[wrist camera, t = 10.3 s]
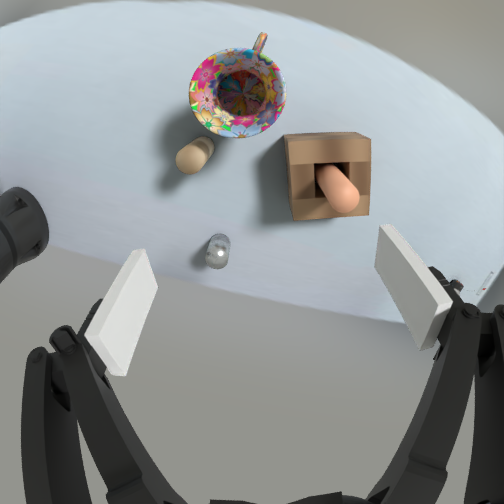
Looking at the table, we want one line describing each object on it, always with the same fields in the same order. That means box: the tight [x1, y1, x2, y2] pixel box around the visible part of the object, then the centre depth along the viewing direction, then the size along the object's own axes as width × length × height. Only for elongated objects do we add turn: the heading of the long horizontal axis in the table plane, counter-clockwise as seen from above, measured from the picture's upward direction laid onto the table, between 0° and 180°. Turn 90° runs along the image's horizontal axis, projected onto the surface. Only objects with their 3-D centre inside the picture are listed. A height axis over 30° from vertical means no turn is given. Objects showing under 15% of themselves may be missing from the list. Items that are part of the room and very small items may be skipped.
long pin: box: [314, 163, 360, 213], centre depth 33 cm, size 3×3×12 cm
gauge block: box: [284, 132, 371, 221], centre depth 35 cm, size 10×10×6 cm
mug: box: [189, 32, 286, 138], centre depth 27 cm, size 12×9×11 cm
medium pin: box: [176, 136, 214, 174], centre depth 33 cm, size 3×3×8 cm
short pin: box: [205, 234, 230, 269], centre depth 42 cm, size 3×3×5 cm
